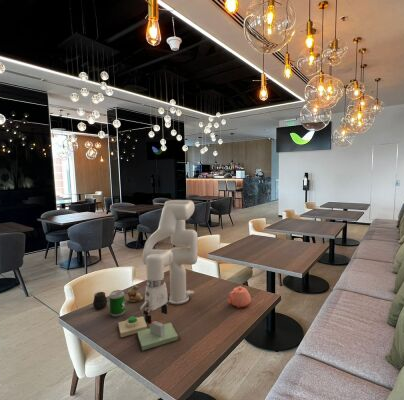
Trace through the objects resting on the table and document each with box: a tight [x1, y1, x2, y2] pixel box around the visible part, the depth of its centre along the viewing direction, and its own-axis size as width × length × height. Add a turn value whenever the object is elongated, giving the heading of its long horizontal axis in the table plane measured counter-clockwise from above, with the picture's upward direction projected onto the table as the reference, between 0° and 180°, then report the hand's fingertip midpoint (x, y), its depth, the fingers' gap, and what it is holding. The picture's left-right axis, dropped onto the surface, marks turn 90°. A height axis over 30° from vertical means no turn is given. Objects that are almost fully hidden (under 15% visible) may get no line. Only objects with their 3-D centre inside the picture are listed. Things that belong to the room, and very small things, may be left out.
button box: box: [118, 316, 148, 338], centre depth 130 cm, size 12×10×4 cm
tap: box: [149, 319, 165, 337], centre depth 122 cm, size 7×2×5 cm, turn 58°
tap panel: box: [136, 322, 179, 351], centre depth 123 cm, size 16×12×2 cm
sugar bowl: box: [227, 285, 252, 309], centre depth 152 cm, size 12×14×10 cm
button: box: [127, 315, 137, 323], centre depth 130 cm, size 4×4×2 cm
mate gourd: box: [92, 291, 108, 310], centre depth 150 cm, size 7×8×10 cm
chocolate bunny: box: [126, 284, 144, 303], centre depth 158 cm, size 6×8×10 cm
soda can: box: [108, 289, 126, 318], centre depth 143 cm, size 8×8×12 cm
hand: (156, 317), depth 121 cm, fingers open, 9 cm apart
